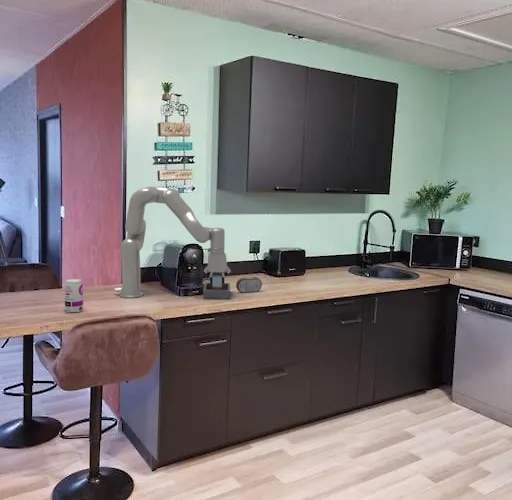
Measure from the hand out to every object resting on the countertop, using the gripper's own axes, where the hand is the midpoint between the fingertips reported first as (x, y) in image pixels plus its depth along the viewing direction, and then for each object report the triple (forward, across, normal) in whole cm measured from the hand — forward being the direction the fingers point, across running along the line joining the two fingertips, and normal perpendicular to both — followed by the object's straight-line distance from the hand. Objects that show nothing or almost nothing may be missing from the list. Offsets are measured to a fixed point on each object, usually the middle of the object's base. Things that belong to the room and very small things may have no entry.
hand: (217, 283), depth 284 cm
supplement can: (+7, -67, -31) cm, 74 cm away
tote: (+7, 0, +4) cm, 8 cm away
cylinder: (+6, 0, +8) cm, 10 cm away
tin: (+8, +18, +13) cm, 23 cm away
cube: (+1, 0, 0) cm, 1 cm away
